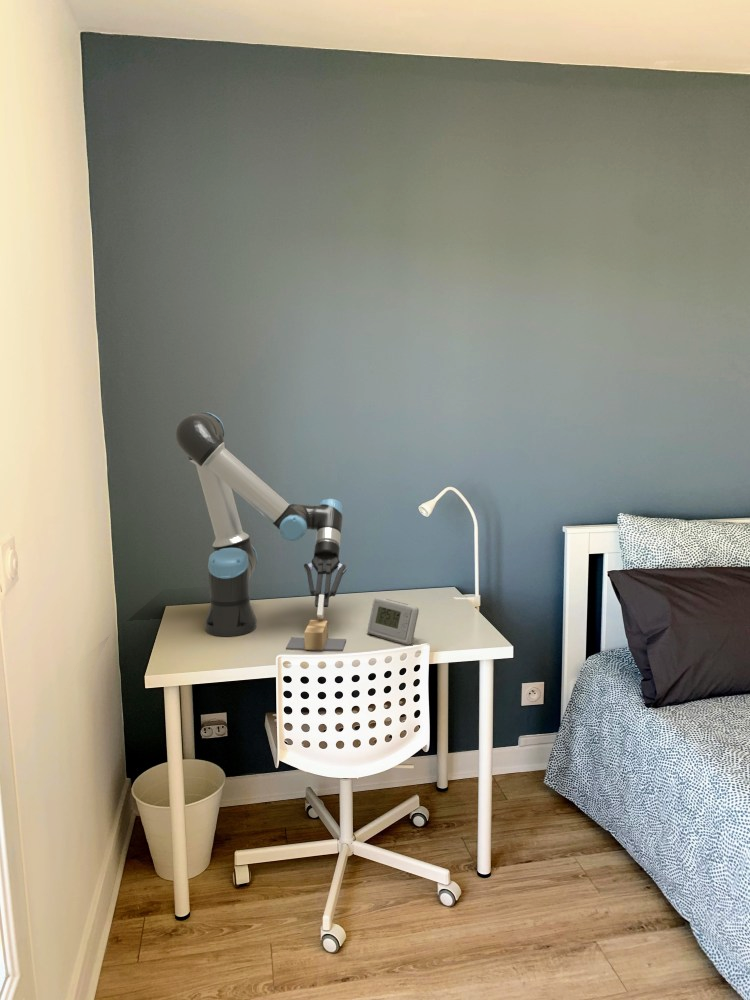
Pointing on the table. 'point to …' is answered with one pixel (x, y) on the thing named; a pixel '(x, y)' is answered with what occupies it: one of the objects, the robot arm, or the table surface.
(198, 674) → the table surface
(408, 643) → the digital clock
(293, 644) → the mat
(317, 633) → the oak block
